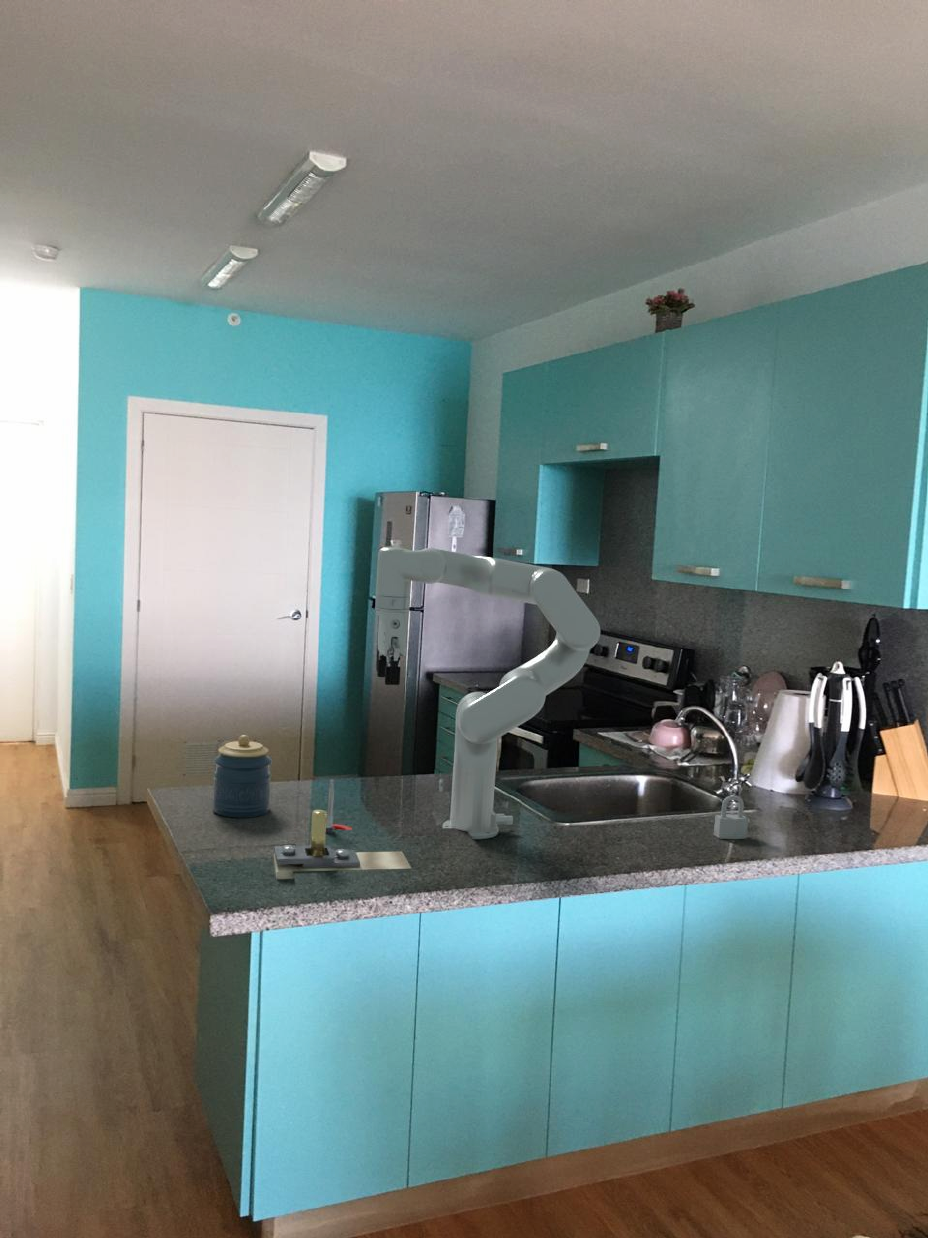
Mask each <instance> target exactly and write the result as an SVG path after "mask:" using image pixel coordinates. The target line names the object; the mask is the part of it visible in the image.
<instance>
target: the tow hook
mask: <svg viewBox="0 0 928 1238" xmlns="http://www.w3.org/2000/svg"><path fill="white" fill-rule="evenodd" d="M334 782H335V780H334V779H330V781H329V788H328V792H327V807H326V809H327V810H326V812H327V817H326V833H325V834H334V832H335V830H338V829H341V830H340V831H344V830H345V831H346V830H347V831H350V830H351V831H352V830H353V828H352V827H350V826H347V825H344V824H335V823H334V815H333V812H334V811H333V810H334V798H335V789H334V785H335V784H334ZM333 823H334V824H333ZM334 828H336V829H334Z"/></svg>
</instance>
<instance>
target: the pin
mask: <svg viewBox="0 0 928 1238" xmlns="http://www.w3.org/2000/svg"><path fill="white" fill-rule="evenodd" d="M311 814H312V815H311V828H310V845H309V846H310V856H322V855H324V850H325V845H326V834H327V833H326V817H327V810H323V809H315V810H313V811H312V812H311Z"/></svg>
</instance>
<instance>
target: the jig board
mask: <svg viewBox="0 0 928 1238" xmlns="http://www.w3.org/2000/svg"><path fill="white" fill-rule="evenodd" d="M355 852H356V851H355ZM356 854H357V856H358V859H359V861H360V867H358V868H316V869H303V867H302V864H277V863H276V858H275V853H273V855H272V856H273V857H272V859H273V860H272V862H273V867H274V873H275V877H276V880H294V879H295V875H294V872H321V871H322V872H323V871H324V872H326V871H328V872H329V871H364V870H368V871H369V870H370V871H371V870H402V869H403V870H408V869H410V870H411V869H412V867H411V865H410V863H409V861H408V859H407V857H406V856H405V854H404V853H403V851H401V850H400V851H363V852H362V851H361V852H359V851H358V852H356Z"/></svg>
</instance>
